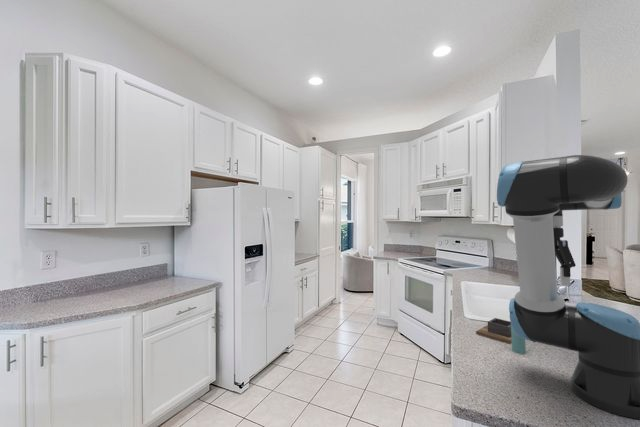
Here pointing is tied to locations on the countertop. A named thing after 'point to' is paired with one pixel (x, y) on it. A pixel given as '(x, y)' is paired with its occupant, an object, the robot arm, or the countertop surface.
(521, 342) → the dowel
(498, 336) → the bracket board
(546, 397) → the countertop surface
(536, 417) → the countertop surface
